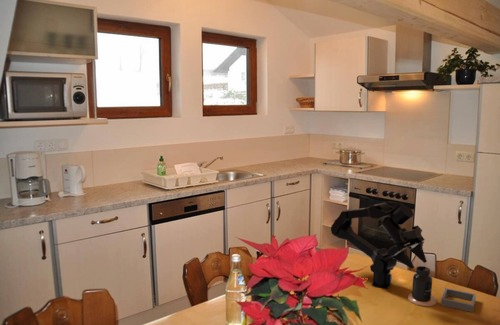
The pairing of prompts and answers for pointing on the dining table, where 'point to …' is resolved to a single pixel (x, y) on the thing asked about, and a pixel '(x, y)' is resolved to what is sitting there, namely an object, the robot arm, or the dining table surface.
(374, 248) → the robot arm
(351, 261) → the dining table surface
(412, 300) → the coaster
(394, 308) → the dining table surface
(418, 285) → the supplement bottle
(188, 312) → the dining table surface
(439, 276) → the dining table surface
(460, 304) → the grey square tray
